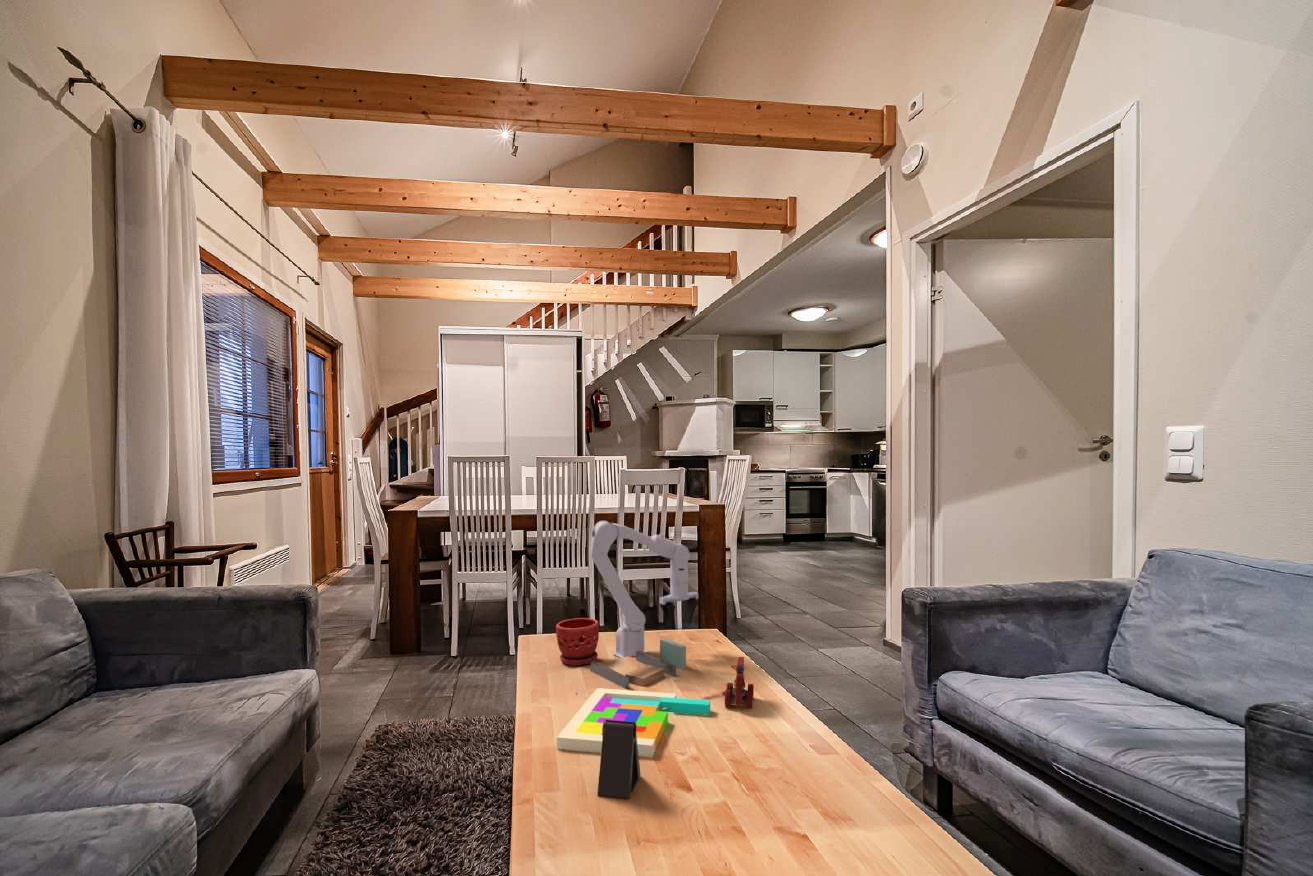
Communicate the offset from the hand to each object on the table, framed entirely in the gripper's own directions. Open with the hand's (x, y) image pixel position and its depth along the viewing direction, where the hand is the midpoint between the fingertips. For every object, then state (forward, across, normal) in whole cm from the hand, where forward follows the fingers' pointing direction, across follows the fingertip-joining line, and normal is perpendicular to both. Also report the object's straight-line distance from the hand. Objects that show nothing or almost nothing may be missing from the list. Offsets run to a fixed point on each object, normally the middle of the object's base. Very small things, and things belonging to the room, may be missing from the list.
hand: (679, 623), depth 204 cm
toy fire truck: (+10, -14, -42) cm, 45 cm away
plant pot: (+10, -30, +13) cm, 34 cm away
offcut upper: (+8, -25, -16) cm, 31 cm away
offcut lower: (+10, -25, -16) cm, 31 cm away
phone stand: (+10, -61, -58) cm, 85 cm away
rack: (+9, -25, -10) cm, 29 cm away
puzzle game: (+10, -42, -38) cm, 58 cm away
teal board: (+9, -11, -10) cm, 18 cm away
